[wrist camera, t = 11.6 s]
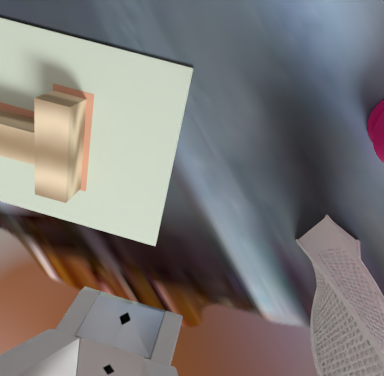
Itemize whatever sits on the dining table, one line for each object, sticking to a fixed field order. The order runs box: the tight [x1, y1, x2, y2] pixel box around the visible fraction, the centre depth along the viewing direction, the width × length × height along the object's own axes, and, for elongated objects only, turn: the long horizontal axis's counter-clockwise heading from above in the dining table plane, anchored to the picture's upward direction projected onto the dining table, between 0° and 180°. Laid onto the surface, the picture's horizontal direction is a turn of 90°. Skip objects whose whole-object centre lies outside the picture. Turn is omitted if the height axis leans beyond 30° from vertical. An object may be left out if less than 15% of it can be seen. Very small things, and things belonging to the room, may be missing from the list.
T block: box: [0, 91, 87, 203], centre depth 42 cm, size 12×12×4 cm
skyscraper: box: [296, 215, 384, 376], centre depth 31 cm, size 8×7×28 cm
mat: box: [0, 17, 194, 246], centre depth 43 cm, size 24×25×1 cm
